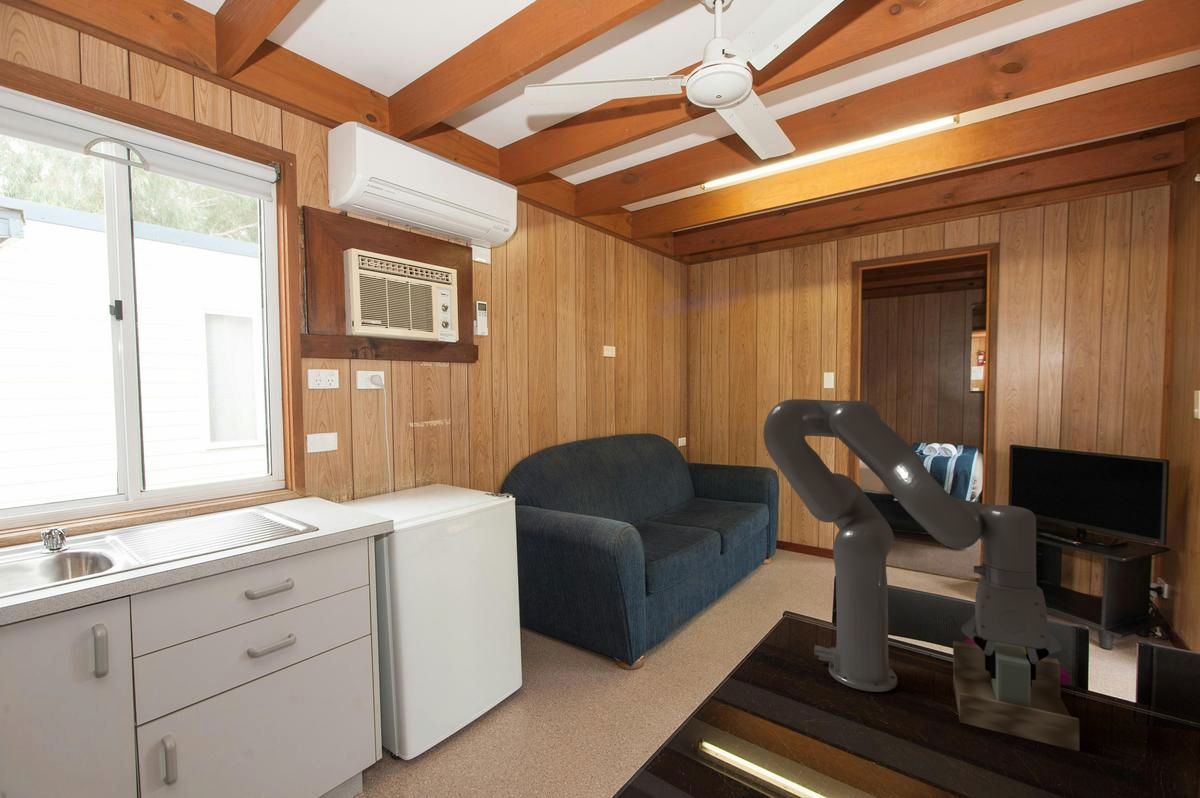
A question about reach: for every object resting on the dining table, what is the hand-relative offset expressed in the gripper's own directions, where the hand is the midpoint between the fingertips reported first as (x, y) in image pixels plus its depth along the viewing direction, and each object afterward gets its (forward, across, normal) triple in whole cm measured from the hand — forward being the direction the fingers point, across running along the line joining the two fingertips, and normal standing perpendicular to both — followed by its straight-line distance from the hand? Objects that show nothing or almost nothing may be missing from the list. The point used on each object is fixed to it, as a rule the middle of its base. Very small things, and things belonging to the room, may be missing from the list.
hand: (1009, 677), depth 96 cm
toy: (+7, +3, +16) cm, 17 cm away
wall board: (+7, 0, +1) cm, 7 cm away
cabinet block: (+3, 0, 0) cm, 3 cm away
